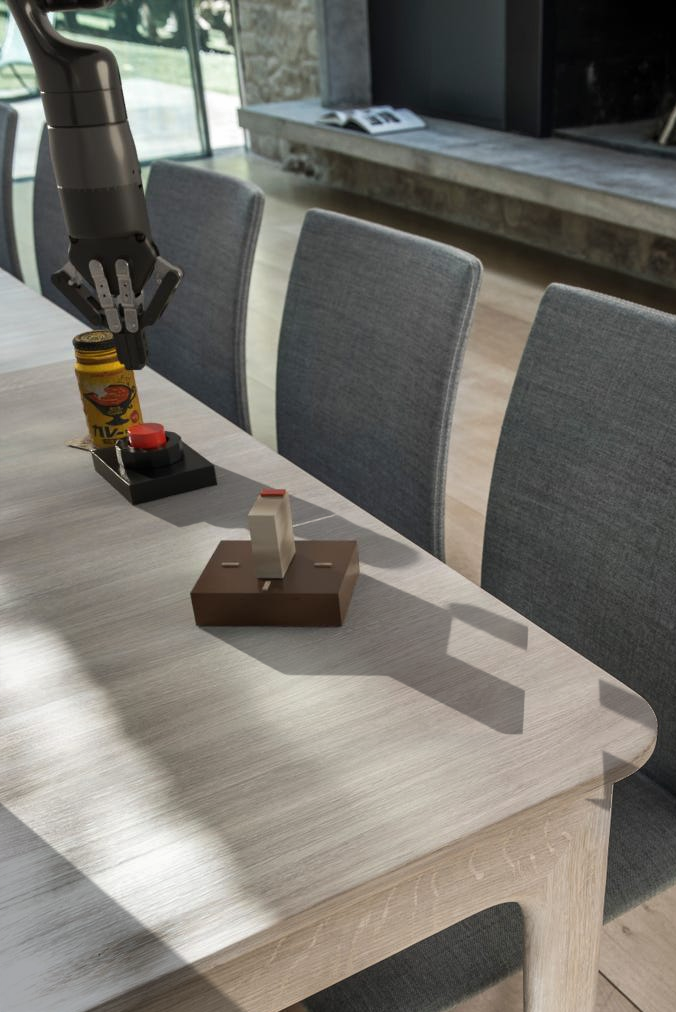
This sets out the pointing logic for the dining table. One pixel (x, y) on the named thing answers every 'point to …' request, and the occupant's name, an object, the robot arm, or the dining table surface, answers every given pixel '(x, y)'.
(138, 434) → the button
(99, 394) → the condiment
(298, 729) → the dining table surface
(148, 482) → the button box
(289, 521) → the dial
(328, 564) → the brown flat block
